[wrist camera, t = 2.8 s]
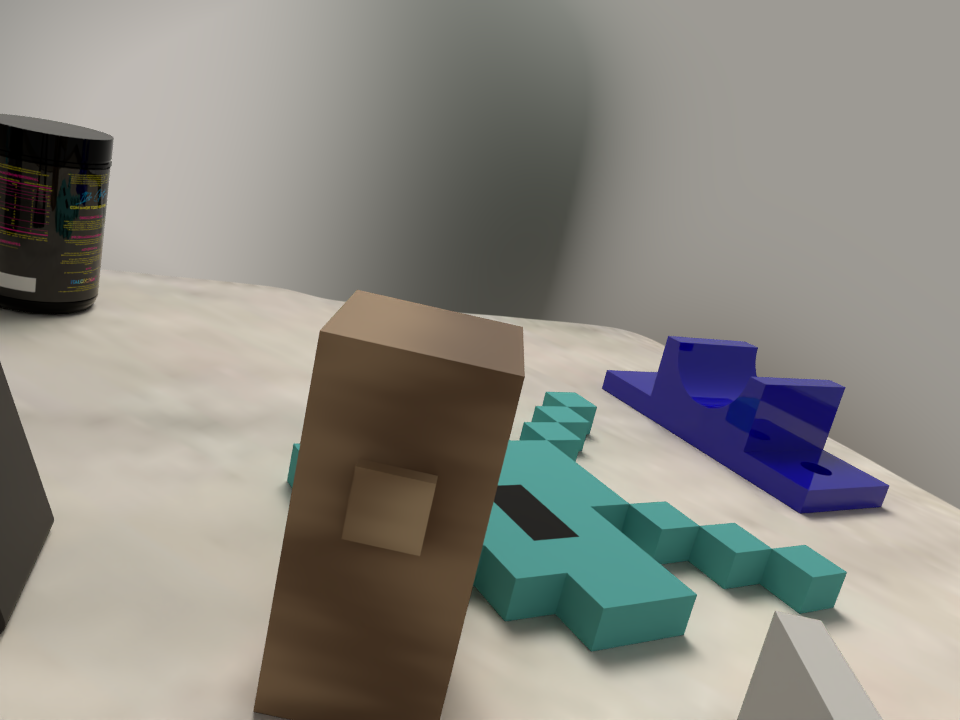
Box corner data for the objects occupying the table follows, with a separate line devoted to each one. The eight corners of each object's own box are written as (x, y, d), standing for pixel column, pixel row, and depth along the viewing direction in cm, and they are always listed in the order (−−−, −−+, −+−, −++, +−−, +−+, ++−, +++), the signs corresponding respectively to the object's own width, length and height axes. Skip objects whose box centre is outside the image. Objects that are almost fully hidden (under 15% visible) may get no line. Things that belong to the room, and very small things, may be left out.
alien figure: (566, 426, 53) (244, 426, 42) (575, 392, 52) (251, 384, 42) (829, 617, 37) (417, 695, 26) (847, 572, 36) (432, 634, 26)
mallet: (248, 724, 23) (315, 335, 20) (346, 499, 36) (395, 247, 33) (430, 763, 23) (524, 382, 20) (461, 524, 37) (520, 275, 34)
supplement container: (111, 296, 56) (127, 135, 53) (78, 324, 50) (94, 143, 47) (0, 277, 55) (10, 111, 52) (-48, 303, 48) (-39, 116, 46)
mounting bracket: (600, 393, 61) (622, 313, 59) (674, 395, 65) (697, 320, 63) (797, 520, 46) (834, 418, 45) (878, 513, 50) (915, 419, 49)
